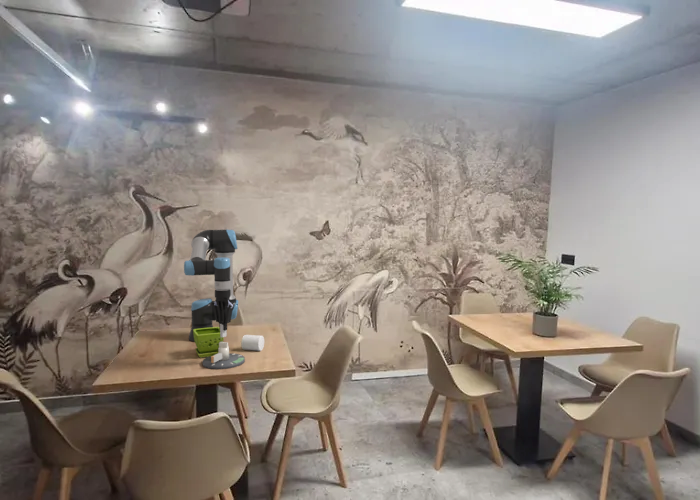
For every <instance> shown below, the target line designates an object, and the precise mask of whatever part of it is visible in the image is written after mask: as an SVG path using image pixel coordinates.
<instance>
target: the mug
mask: <svg viewBox="0 0 700 500" xmlns="http://www.w3.org/2000/svg"><path fill="white" fill-rule="evenodd" d="M240 342H241V344H240V345H241V349H242V350H245V351H258V352H261V351H263V349H264V346H265V337H264V335H258V334H257V335H253V334H244V335H243V336H242V338H241V341H240Z"/></svg>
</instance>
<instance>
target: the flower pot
mask: <svg viewBox="0 0 700 500" xmlns="http://www.w3.org/2000/svg"><path fill="white" fill-rule="evenodd" d="M219 328H220V327H219V326H213V327H211V328H200V329H193V335H194V340H195V342H194V343H195V346H196V348H195V352H196V353H197V355H198V358H203V359H204V358H207V357H209V356H213V355H216V354H218V347H219V342H224V339H225V337H220V329H219ZM198 334H199V335H198Z"/></svg>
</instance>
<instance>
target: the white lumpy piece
mask: <svg viewBox="0 0 700 500" xmlns="http://www.w3.org/2000/svg"><path fill="white" fill-rule="evenodd" d="M229 353H230V346H229V342H225V341H223V342H219V347H218V354H216V355H214V356H211V363H215V362H217V361H219V360H220V361H225V360H228V359H229Z"/></svg>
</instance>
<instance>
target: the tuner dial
mask: <svg viewBox="0 0 700 500" xmlns="http://www.w3.org/2000/svg"><path fill="white" fill-rule="evenodd" d="M213 356H214V355H213ZM245 358H246V357H245V355H242V354H239V353H230V352H229V359H228V360H225V361H220V360H219V361H217V362H215V363H211V356H209V357H204V358H203V360H202V367H204V368H206V369H210V370H226V369H232V368H237V367H240V366H242V365H243V364H244V363H245V362H246V361H245V360H246V359H245Z"/></svg>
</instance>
